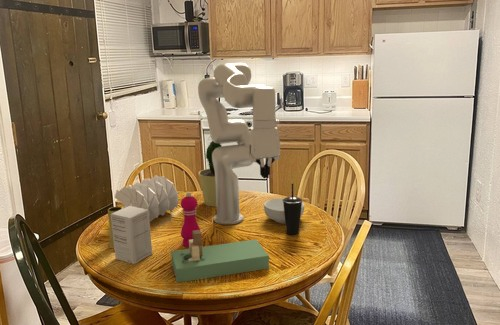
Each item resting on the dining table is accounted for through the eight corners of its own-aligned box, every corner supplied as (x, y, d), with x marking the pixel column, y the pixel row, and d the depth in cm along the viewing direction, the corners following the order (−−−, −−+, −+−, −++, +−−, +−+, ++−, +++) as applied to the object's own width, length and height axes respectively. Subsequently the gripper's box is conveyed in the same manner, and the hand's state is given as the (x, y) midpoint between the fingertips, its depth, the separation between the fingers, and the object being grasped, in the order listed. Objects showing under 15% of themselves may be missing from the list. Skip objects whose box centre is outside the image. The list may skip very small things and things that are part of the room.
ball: (183, 263, 154) (189, 253, 154) (193, 268, 156) (199, 258, 155) (185, 269, 150) (191, 258, 150) (195, 273, 152) (202, 263, 152)
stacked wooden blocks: (189, 250, 156) (188, 228, 154) (199, 249, 157) (198, 227, 155) (193, 261, 148) (192, 237, 146) (204, 259, 149) (202, 236, 147)
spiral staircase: (176, 219, 210) (137, 236, 189) (149, 198, 217) (108, 212, 195) (190, 186, 203) (151, 200, 182) (161, 165, 210) (120, 176, 188)
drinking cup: (301, 237, 177) (301, 187, 172) (281, 236, 178) (281, 186, 174) (303, 230, 184) (303, 181, 179) (284, 229, 186) (283, 180, 181)
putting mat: (171, 263, 158) (170, 251, 157) (256, 251, 166) (256, 239, 165) (177, 282, 145) (176, 269, 144) (269, 268, 153) (268, 255, 152)
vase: (111, 249, 170) (108, 212, 167) (108, 243, 176) (104, 207, 172) (128, 246, 173) (125, 209, 170) (124, 240, 178) (121, 205, 175)
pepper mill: (204, 241, 176) (201, 190, 171) (196, 249, 169) (193, 196, 165) (187, 239, 178) (184, 188, 174) (178, 246, 172) (174, 194, 167)
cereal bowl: (310, 224, 190) (310, 207, 189) (272, 229, 186) (271, 212, 184) (294, 211, 206) (294, 195, 204) (258, 215, 202) (258, 200, 200)
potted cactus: (197, 199, 225) (194, 137, 218) (229, 196, 229) (227, 135, 222) (202, 209, 211) (199, 144, 204) (235, 206, 214) (233, 141, 207)
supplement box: (133, 248, 171) (130, 205, 167) (153, 253, 166) (149, 208, 162) (114, 259, 163) (109, 213, 159) (133, 264, 158) (129, 217, 154)
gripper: (281, 121, 162) (282, 172, 166) (239, 124, 158) (241, 176, 162) (289, 124, 155) (289, 178, 159) (245, 127, 151) (247, 182, 155)
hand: (265, 177), depth 161 cm, fingers closed
